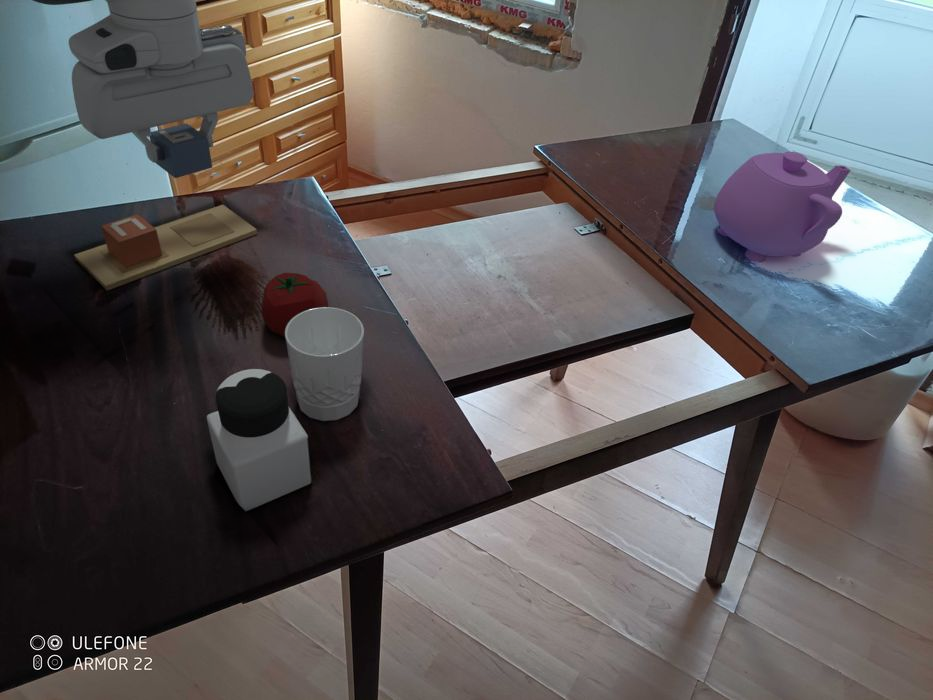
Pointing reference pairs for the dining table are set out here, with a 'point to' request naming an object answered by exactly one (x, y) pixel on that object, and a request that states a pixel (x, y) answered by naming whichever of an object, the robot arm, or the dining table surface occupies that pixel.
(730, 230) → the teapot
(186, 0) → the robot arm
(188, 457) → the dining table surface
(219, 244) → the word board
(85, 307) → the dining table surface
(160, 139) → the tile
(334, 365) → the white cup
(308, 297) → the tomato
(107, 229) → the tile
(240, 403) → the medicine bottle
